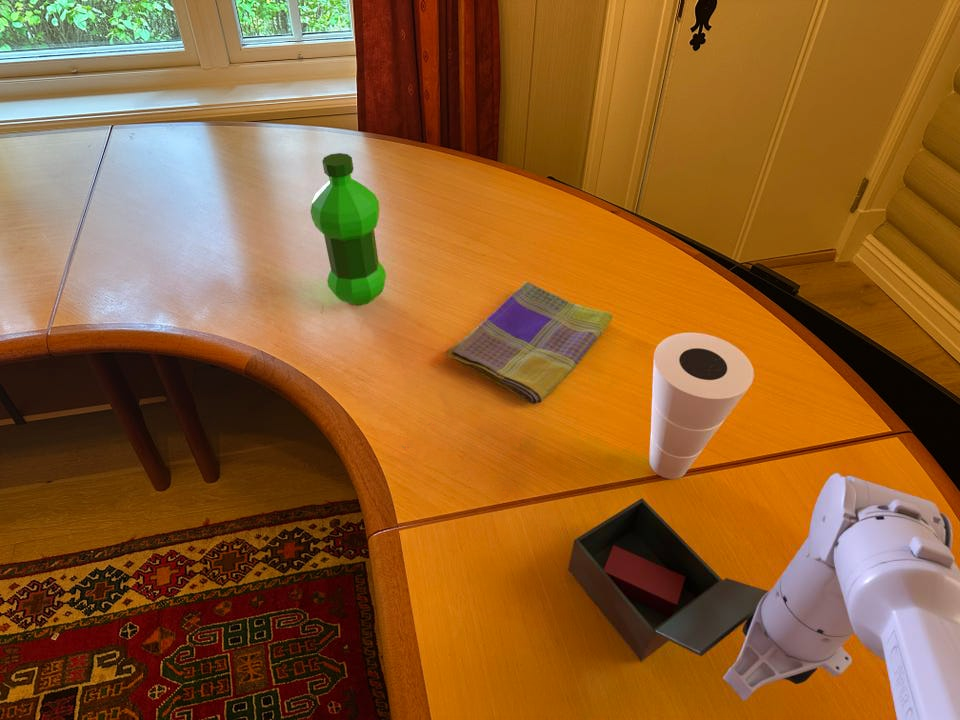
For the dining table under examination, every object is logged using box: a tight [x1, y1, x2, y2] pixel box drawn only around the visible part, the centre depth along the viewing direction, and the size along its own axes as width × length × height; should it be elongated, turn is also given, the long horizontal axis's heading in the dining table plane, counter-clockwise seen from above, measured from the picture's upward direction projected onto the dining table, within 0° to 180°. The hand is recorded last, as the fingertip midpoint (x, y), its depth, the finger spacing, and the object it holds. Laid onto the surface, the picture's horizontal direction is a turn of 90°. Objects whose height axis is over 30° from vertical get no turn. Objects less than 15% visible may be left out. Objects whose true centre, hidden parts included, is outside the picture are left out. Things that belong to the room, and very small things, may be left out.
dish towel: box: [444, 281, 613, 405], centre depth 96 cm, size 18×24×3 cm
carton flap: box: [656, 577, 770, 657], centre depth 55 cm, size 6×10×1 cm
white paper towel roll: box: [648, 332, 755, 480], centre depth 73 cm, size 11×11×18 cm
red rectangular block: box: [603, 545, 685, 617], centre depth 65 cm, size 8×4×3 cm, turn 62°
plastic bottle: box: [310, 152, 387, 307], centre depth 97 cm, size 10×10×25 cm
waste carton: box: [567, 497, 724, 662], centre depth 64 cm, size 12×10×6 cm
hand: (761, 668), depth 54 cm, fingers closed
